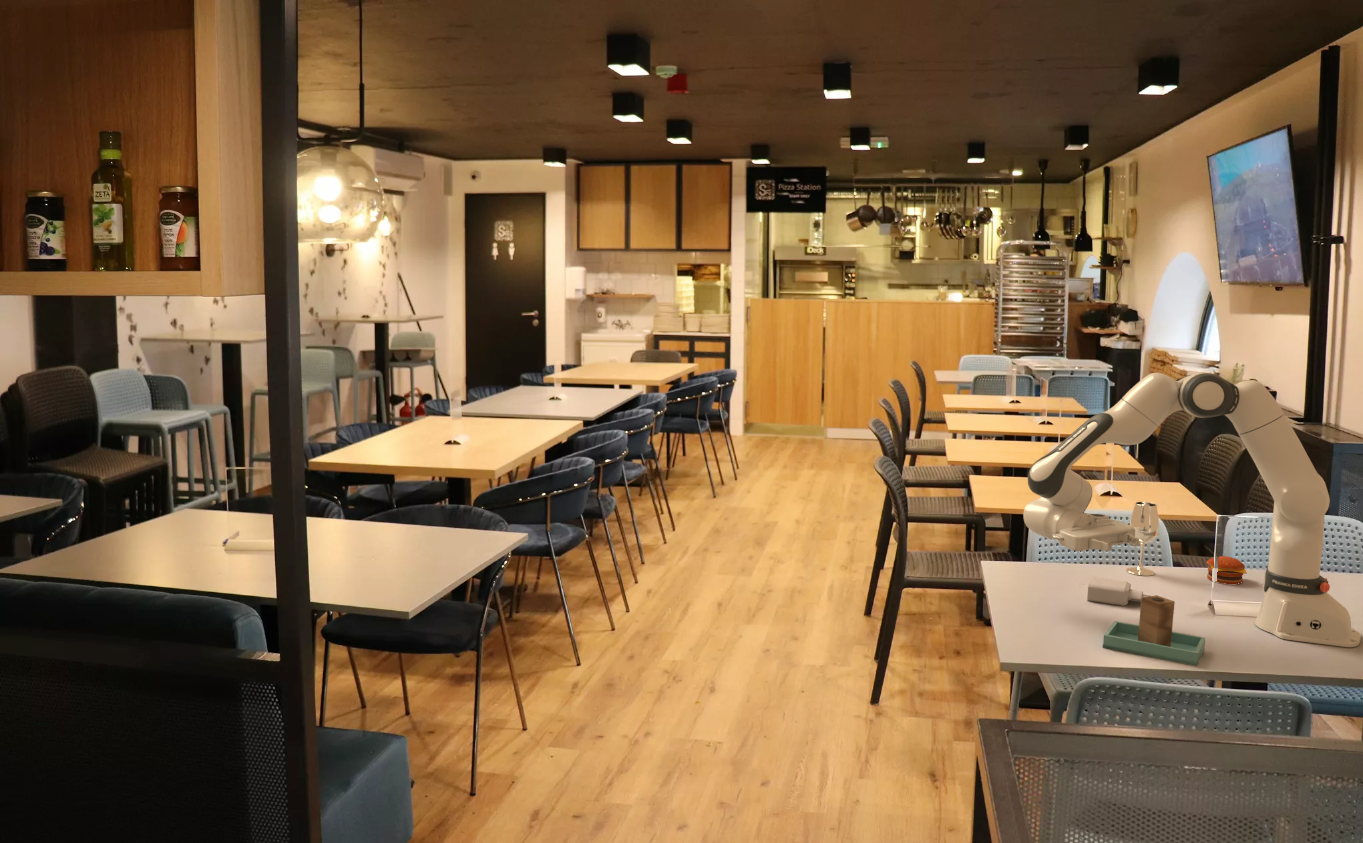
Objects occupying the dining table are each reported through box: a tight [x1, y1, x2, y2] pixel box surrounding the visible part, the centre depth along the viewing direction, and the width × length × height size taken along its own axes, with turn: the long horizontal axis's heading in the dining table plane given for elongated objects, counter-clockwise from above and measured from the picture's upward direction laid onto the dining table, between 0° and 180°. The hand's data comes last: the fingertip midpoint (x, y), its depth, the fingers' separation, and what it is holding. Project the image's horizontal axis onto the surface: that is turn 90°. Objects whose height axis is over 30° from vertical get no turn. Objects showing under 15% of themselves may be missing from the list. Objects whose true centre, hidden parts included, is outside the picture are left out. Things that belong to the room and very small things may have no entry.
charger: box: [1086, 576, 1152, 607], centre depth 293 cm, size 5×9×15 cm
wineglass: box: [1125, 501, 1160, 577], centre depth 318 cm, size 8×8×20 cm
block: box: [1138, 594, 1176, 647], centre depth 258 cm, size 5×5×11 cm
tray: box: [1102, 620, 1206, 667], centre depth 259 cm, size 20×12×3 cm, turn 58°
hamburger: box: [1205, 555, 1247, 585], centre depth 313 cm, size 9×10×7 cm
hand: (1123, 545), depth 265 cm, fingers open, 8 cm apart
